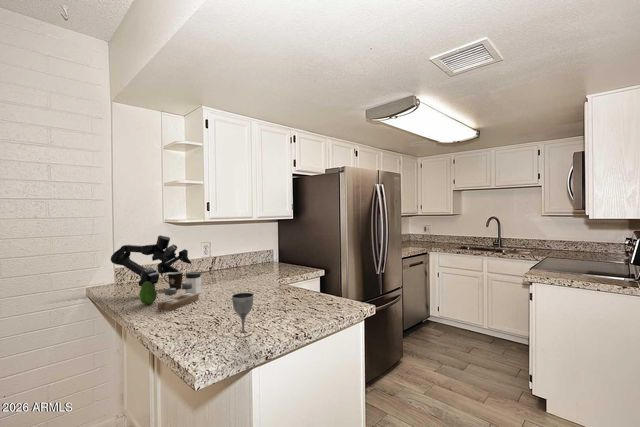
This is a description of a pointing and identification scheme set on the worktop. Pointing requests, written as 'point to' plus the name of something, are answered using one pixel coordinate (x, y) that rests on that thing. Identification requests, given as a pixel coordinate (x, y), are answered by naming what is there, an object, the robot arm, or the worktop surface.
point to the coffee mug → (175, 279)
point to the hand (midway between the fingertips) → (184, 267)
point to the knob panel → (177, 301)
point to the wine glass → (242, 305)
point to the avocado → (148, 293)
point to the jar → (193, 282)
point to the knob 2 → (187, 286)
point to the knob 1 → (170, 291)
